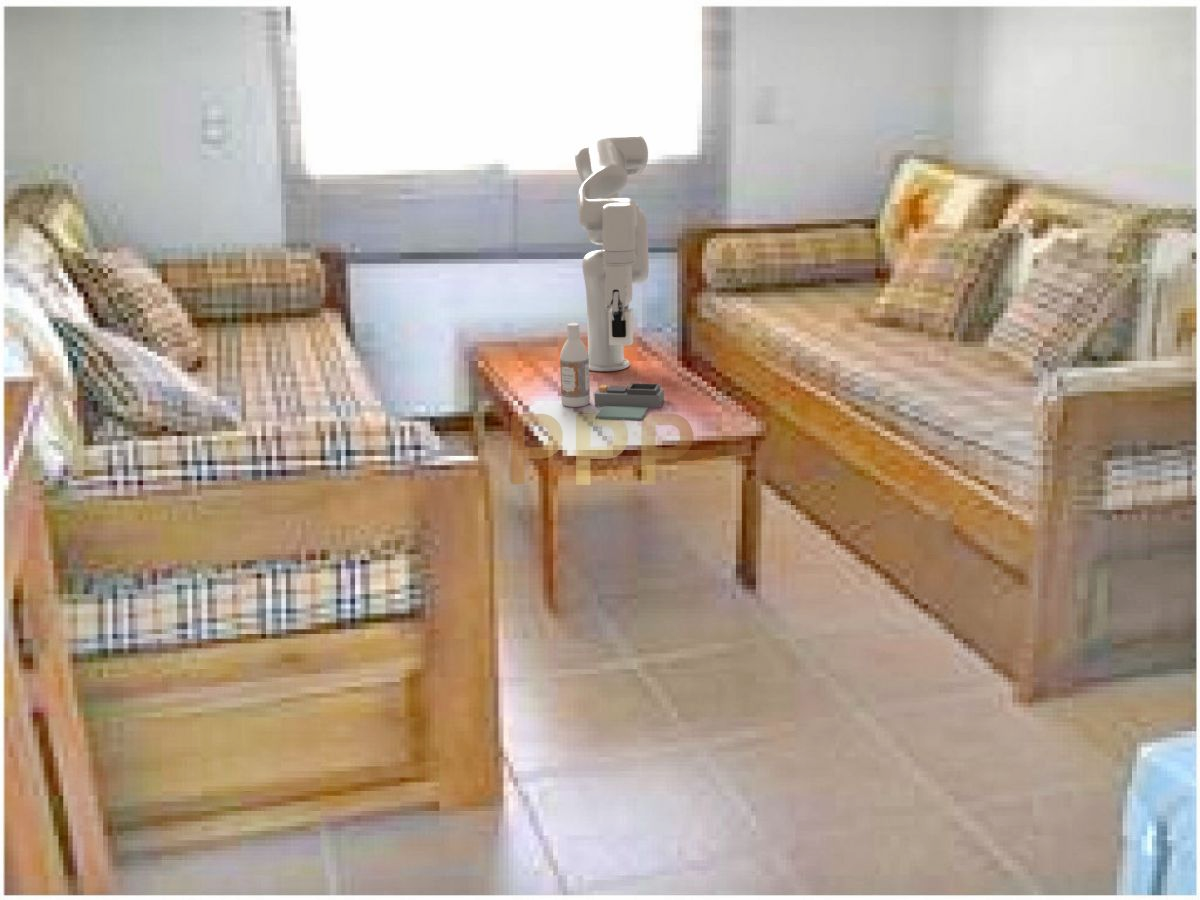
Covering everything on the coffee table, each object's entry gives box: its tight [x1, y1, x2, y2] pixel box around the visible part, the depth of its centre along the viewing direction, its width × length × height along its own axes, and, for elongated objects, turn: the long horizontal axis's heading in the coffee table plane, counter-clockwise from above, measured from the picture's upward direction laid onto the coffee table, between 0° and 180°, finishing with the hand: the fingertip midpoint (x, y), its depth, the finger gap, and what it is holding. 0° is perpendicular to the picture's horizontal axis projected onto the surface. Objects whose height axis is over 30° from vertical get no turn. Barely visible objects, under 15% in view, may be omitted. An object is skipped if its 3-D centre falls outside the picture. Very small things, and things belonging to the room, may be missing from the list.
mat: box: [595, 406, 649, 421], centre depth 330 cm, size 9×11×1 cm
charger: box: [608, 305, 634, 347], centre depth 323 cm, size 4×5×10 cm
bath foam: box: [559, 322, 591, 408], centre depth 337 cm, size 7×7×20 cm
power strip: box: [594, 382, 665, 409], centre depth 339 cm, size 7×16×4 cm, turn 78°
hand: (620, 334), depth 324 cm, fingers closed on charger, 4 cm apart
